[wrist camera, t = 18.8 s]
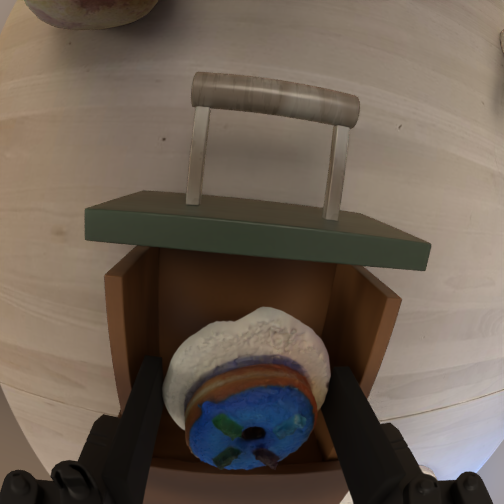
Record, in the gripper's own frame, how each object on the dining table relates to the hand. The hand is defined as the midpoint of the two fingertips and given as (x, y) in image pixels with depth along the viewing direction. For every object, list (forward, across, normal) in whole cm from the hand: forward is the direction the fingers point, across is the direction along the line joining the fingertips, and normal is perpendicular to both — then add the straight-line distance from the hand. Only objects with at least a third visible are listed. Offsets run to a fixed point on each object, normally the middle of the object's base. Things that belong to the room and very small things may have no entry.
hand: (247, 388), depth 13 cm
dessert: (0, 0, 0) cm, 0 cm away
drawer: (+7, 0, +3) cm, 8 cm away
